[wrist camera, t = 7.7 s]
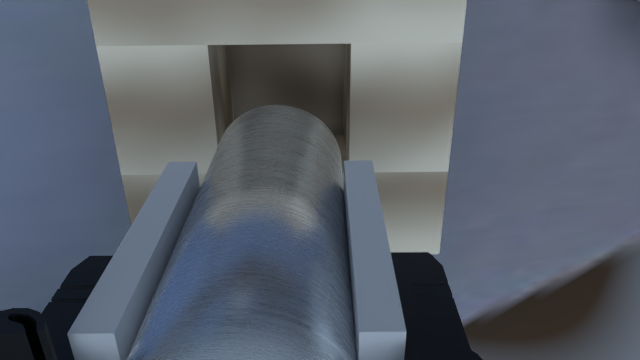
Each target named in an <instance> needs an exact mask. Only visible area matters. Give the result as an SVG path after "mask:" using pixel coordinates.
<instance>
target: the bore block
mask: <svg viewBox="0 0 640 360" xmlns="http://www.w3.org/2000/svg"><path fill="white" fill-rule="evenodd" d="M87 2H88V7H89V12H90V17H91V22H92V28H93V33H94V38H95V43H96V48H97V53H98V58H99V63H100V69H101V74H102V79H103V84H104V89H105V94H106V99H107V105H108V110H109V115H110V120H111V125H112V130H113V135H114V141H115V146H116V151H117V156H118V161H119V166H120V171H121V177H122V182H123V187H124V192H125V197H126V202H127V207H128V212H129V218H130V223H131V225H132V223H133V221H134V220H135V218H136V216H137V215H138V213H139V211H140V210H141V208H142V206H143V204H144V203H145V201H146V199H147V198H148V196H149V194H150V193H151V191H152V189H153V188H154V186H155V184H156V182H157V181H158V179H159V177H160V176H161V174H162V172H163V171H164V169H165V167H166V166H167V164H168V162H197V168H198V176H199V184H200V187H201V184H202V182H203V180H204V177H205V175H206V173H207V170H208V168H209V166H210V163H211V161H212V159H213V156H214V154H215V152H216V149H217V147H218V145H219V142H220V140H221V138H222V135H223V134H224V132H225V131H226V129H227V128H228V127H229V125H230V124H231V123H232V122H233V121H234V120H235V119H237V118H238V117H239V116H241V115H242V114H244V113H246V112H248V111H250V110H252V109H255V108H258V107H262V106H267V105H287V106H292V107H296V108H299V109H302V110H304V111H307V112H309V113H311V114H312V115H314V116H315V117H317V118H318V119H319V120H321V121H322V122H323V123H324V124H325V125H326V126H327V127H328V128H329V130H330V131H331V132H332V134H333V135H334V137H335V139H336V141H337V143H338V146H339V149H340V154H341V161H342V174H343V186H344V161H355V160H372V163H373V167H374V172H375V177H376V182H377V187H378V192H379V197H380V202H381V207H382V212H383V217H384V222H385V227H386V232H387V237H388V242H389V247H390V252H429V253H430V254H439V251H440V242H441V233H442V224H443V214H444V205H445V196H446V187H447V178H448V169H449V159H450V150H451V141H452V132H453V123H454V114H455V105H456V95H457V86H458V77H459V68H460V59H461V50H462V40H463V31H464V22H465V13H466V4H467V0H87Z"/></svg>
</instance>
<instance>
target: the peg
mask: <svg viewBox="0 0 640 360" xmlns="http://www.w3.org/2000/svg"><path fill="white" fill-rule="evenodd" d="M127 360H357V355H356V342H355V330H354V317H353V304H352V292H351V279H350V267H349V254H348V242H347V229H346V216H345V204H344V186H343V174H342V161H341V154H340V149H339V146H338V143H337V141H336V139H335V137H334V135H333V134H332V132H331V131H330V130H329V128H328V127H327V126H326V125H325V124H324V123H323V122H322V121H321V120H319V119H318V118H317V117H315V116H314V115H312V114H311V113H309V112H307V111H304V110H302V109H299V108H296V107H292V106H287V105H267V106H262V107H258V108H255V109H252V110H250V111H248V112H246V113H244V114H242V115H241V116H239V117H238V118H237V119H235V120H234V121H233V122H232V123H231V124H230V125H229V127H228V128H227V129H226V131H225V132H224V134H223V135H222V138H221V140H220V142H219V145H218V147H217V149H216V152H215V154H214V156H213V159H212V161H211V163H210V166H209V168H208V170H207V173H206V175H205V177H204V180H203V182H202V184H201V187H200V189H199V191H198V194H197V196H196V198H195V201H194V203H193V205H192V208H191V210H190V212H189V215H188V217H187V219H186V222H185V224H184V226H183V229H182V231H181V234H180V236H179V238H178V241H177V243H176V245H175V248H174V250H173V252H172V255H171V257H170V259H169V262H168V264H167V266H166V269H165V271H164V273H163V276H162V278H161V280H160V283H159V285H158V287H157V290H156V292H155V294H154V297H153V299H152V301H151V304H150V306H149V308H148V311H147V313H146V315H145V318H144V320H143V322H142V325H141V327H140V329H139V332H138V334H137V337H136V339H135V341H134V344H133V346H132V348H131V351H130V353H129V355H128V358H127Z"/></svg>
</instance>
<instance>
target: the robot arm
mask: <svg viewBox="0 0 640 360" xmlns="http://www.w3.org/2000/svg"><path fill="white" fill-rule="evenodd" d="M199 189H200V184H199V176H198V168H197V162H168V164H167V166H166V167H165V169H164V171H163V172H162V174H161V176H160V177H159V179H158V181H157V182H156V184H155V186H154V188H153V189H152V191H151V193H150V194H149V196H148V198H147V199H146V201H145V203H144V204H143V206H142V208H141V210H140V211H139V213H138V215H137V216H136V218H135V220H134V221H133V223H132V225H131V226H130V228H129V230H128V232H127V233H126V235H125V237H124V238H123V240H122V242H121V243H120V245H119V247H118V249H117V250H116V252H115V254H114V255H113V256H89V257H88V258H87V259H85V260H84V261H83V262H81V263H80V264H79V265H77V266H76V267H74V268H73V269H72V270H71V271H70V273H69V274H68V276H67V277H66V278H65V280H64V281H63V283H62V284H61V288H60V289H58V290H57V292H56V293H55V295H54V296H53V297H52V301H51V302H49V303H48V305H47V306H46V308H45V309H44V311H43V312H42V314H41V313H40V312H38V311H35V310H32V309H29V308H12V309H8V310H4V311H0V360H127V358H128V355H129V353H130V351H131V348H132V346H133V344H134V341H135V339H136V337H137V334H138V332H139V329H140V327H141V325H142V322H143V320H144V318H145V315H146V313H147V311H148V308H149V306H150V304H151V301H152V299H153V297H154V294H155V292H156V290H157V287H158V285H159V283H160V280H161V278H162V276H163V273H164V271H165V269H166V266H167V264H168V262H169V259H170V257H171V255H172V252H173V250H174V248H175V245H176V243H177V241H178V238H179V236H180V234H181V231H182V229H183V226H184V224H185V222H186V219H187V217H188V215H189V212H190V210H191V208H192V205H193V203H194V201H195V198H196V196H197V194H198V191H199ZM344 204H345V216H346V229H347V242H348V254H349V267H350V279H351V292H352V304H353V317H354V330H355V342H356V355H357V360H482V359H481V358H480V357H479V355H478V354H476V353H475V352H473V351H472V350H471V348H470V346H469V343H468V340H467V337H466V334H465V331H464V328H463V325H462V322H461V319H460V316H459V313H458V310H457V308H456V305H455V302H454V299H453V298H452V293H451V290H450V287H449V285H448V281H447V278H446V275H445V272H444V269H443V266H442V265H441V264H440V263H439V262H438V261H437V260H436V259H435V258H434V257H433V256H432V255H431V254H430V253H429V252H390V247H389V242H388V237H387V232H386V227H385V222H384V217H383V212H382V207H381V202H380V197H379V192H378V187H377V182H376V177H375V172H374V167H373V163H372V160H355V161H344Z"/></svg>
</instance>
